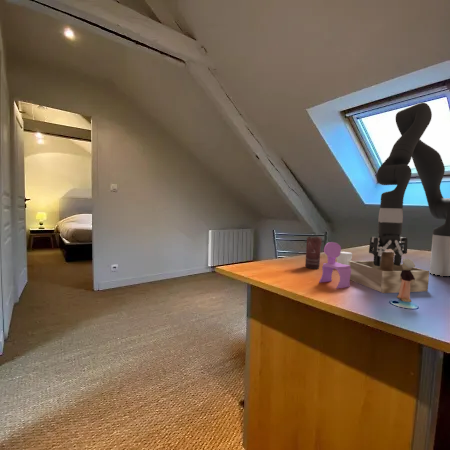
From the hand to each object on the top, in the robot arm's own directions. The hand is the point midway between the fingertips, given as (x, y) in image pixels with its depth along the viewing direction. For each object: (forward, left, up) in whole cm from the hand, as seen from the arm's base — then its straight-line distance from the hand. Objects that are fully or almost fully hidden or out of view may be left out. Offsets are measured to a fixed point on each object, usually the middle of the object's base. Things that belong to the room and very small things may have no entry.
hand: (387, 265), depth 103 cm
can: (+13, -29, -7) cm, 33 cm away
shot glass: (-3, -29, -7) cm, 30 cm away
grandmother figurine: (+8, +16, -7) cm, 19 cm away
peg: (0, 0, -7) cm, 7 cm away
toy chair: (+20, -2, -7) cm, 21 cm away
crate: (0, 0, -7) cm, 7 cm away
